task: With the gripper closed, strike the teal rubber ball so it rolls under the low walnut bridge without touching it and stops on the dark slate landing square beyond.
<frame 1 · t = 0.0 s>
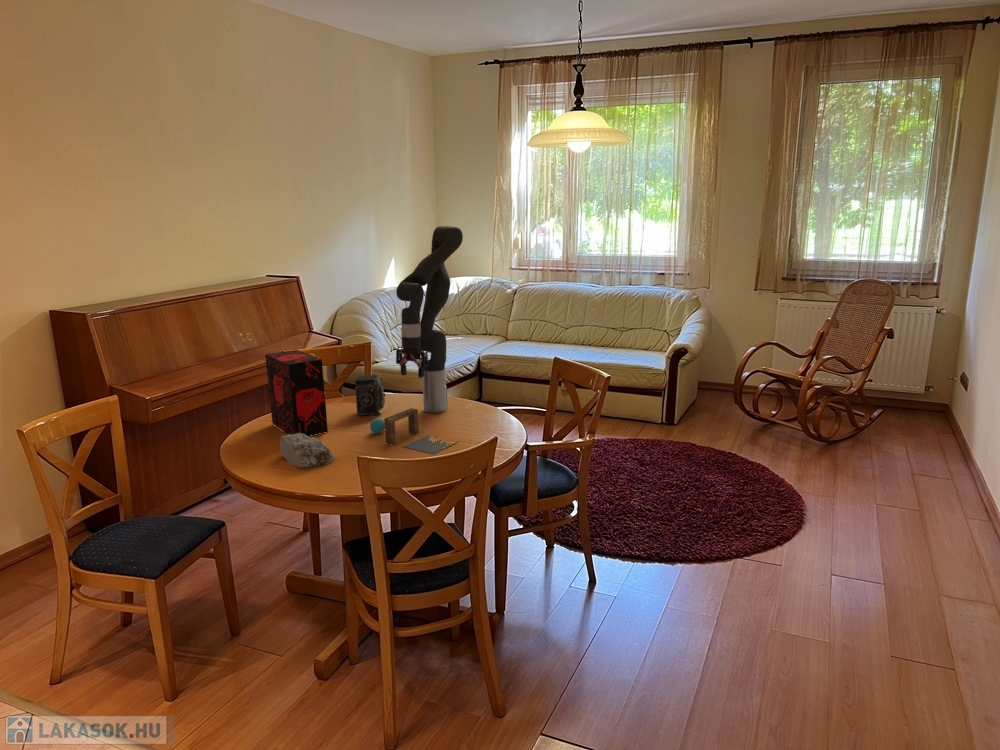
hand: (412, 376, 270), 17 cm above the table, tool pointing down, fingers open, 8 cm apart
bridge: (402, 438, 251), on the table
box: (299, 429, 265), on the table
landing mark: (430, 444, 244), on the table
decorative stone: (307, 460, 233), on the table
ball: (377, 425, 257), on the table
camera: (372, 413, 283), on the table
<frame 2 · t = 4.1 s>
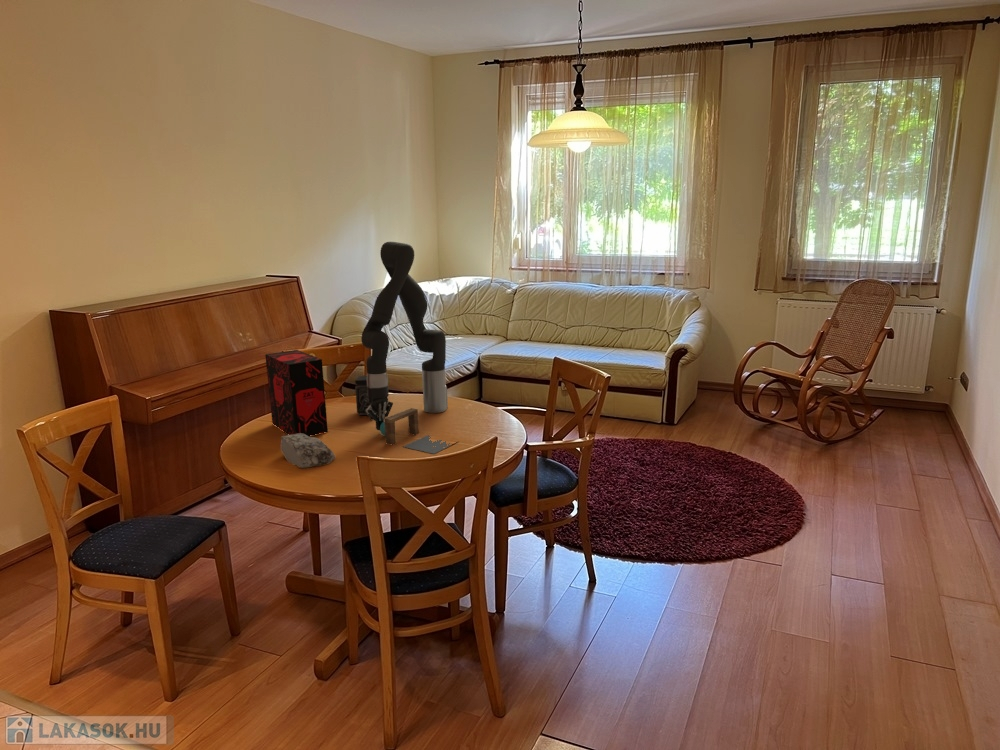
hand: (380, 429, 256), 2 cm above the table, tool pointing down, fingers closed
ball: (387, 428, 253), on the table
everything else where it was.
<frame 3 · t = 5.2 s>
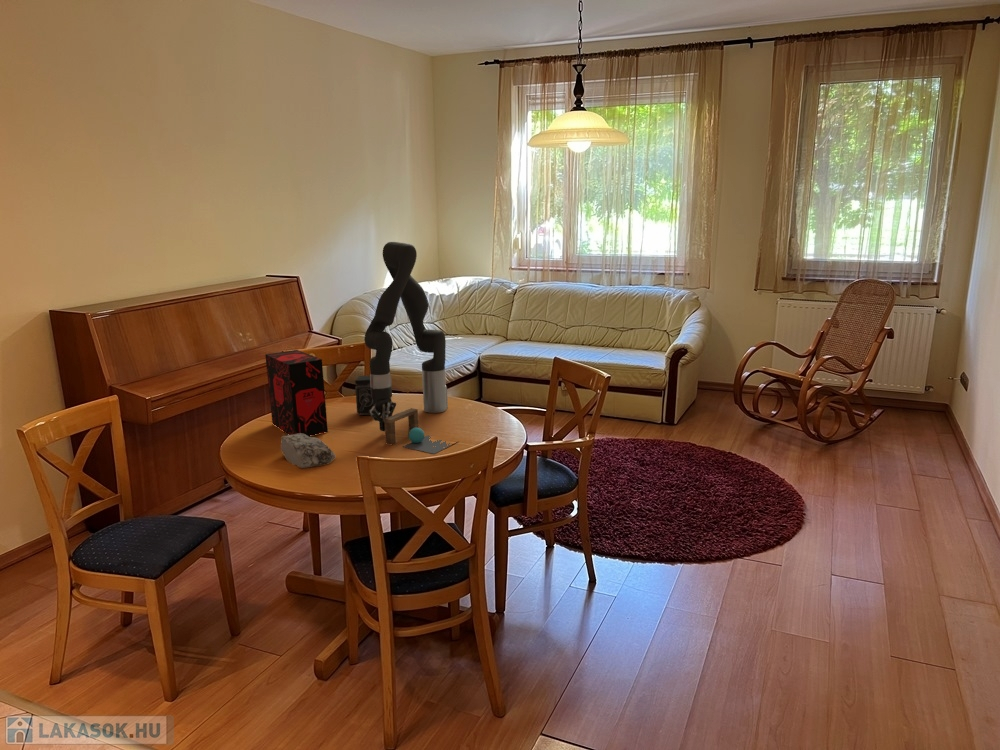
hand: (383, 430, 255), 1 cm above the table, tool pointing down, fingers closed
ball: (416, 435, 245), on the table
everything else where it was.
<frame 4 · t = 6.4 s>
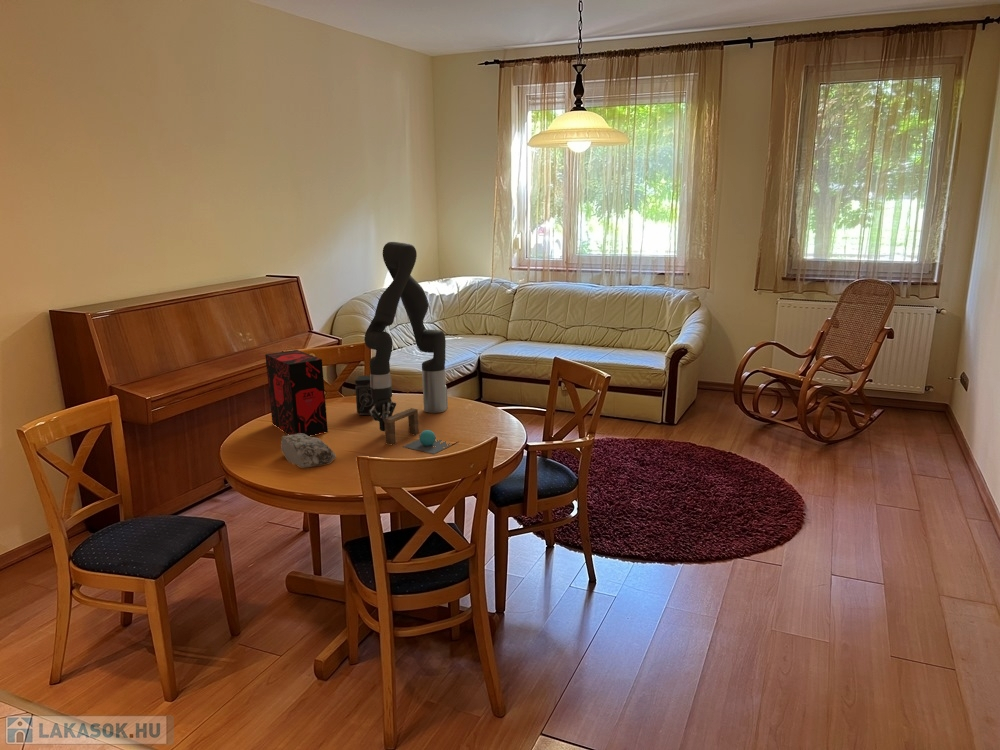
hand: (383, 430, 255), 1 cm above the table, tool pointing down, fingers closed
ball: (427, 438, 242), on the table
everything else where it was.
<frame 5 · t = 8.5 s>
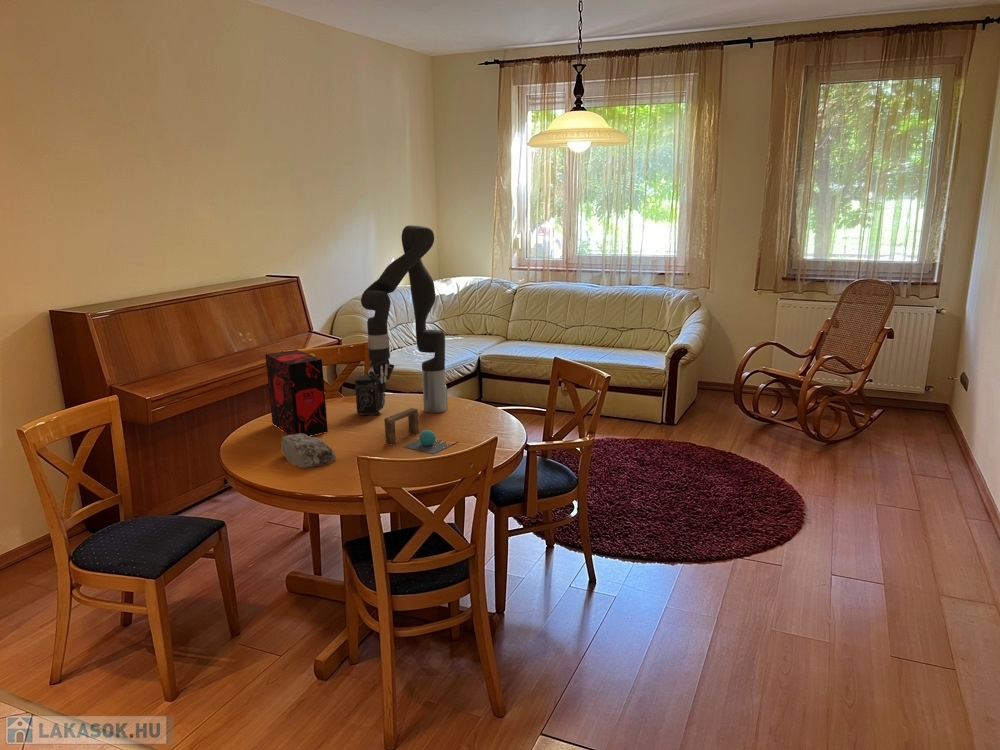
hand: (381, 392, 253), 16 cm above the table, tool pointing down, fingers closed
nothing on the table moved.
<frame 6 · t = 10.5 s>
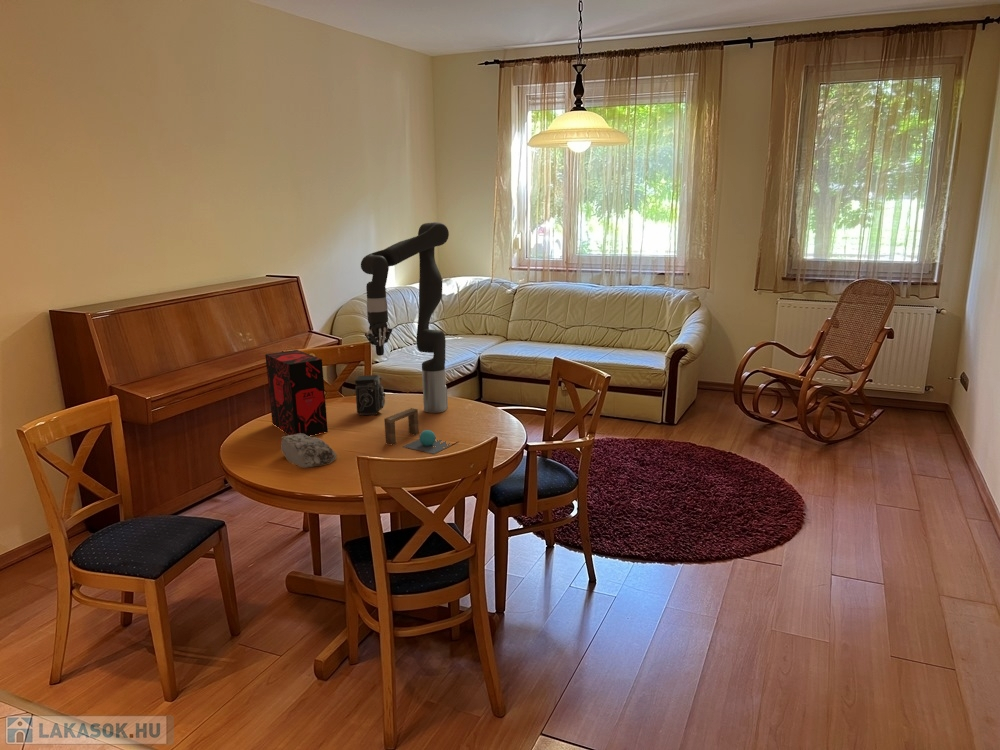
hand: (380, 355, 262), 27 cm above the table, tool pointing down, fingers closed
nothing on the table moved.
at the end: ball 1.4 cm from the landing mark (horizontally); ball never touched bridge; ball at rest at the end (0.0 cm/s) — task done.
